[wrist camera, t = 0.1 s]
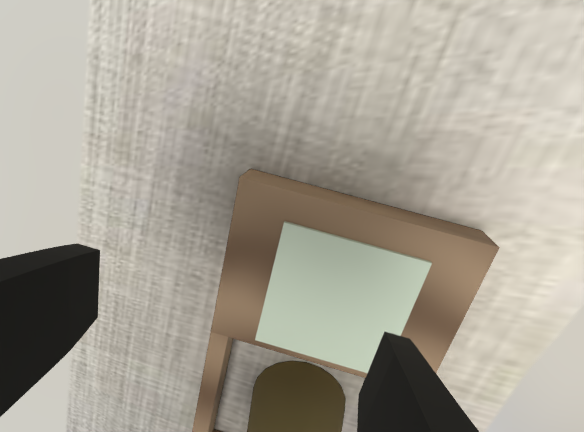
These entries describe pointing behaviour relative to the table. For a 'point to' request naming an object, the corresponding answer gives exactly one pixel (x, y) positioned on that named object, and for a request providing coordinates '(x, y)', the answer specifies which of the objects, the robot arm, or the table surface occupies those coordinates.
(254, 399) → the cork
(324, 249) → the well board
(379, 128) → the table surface
